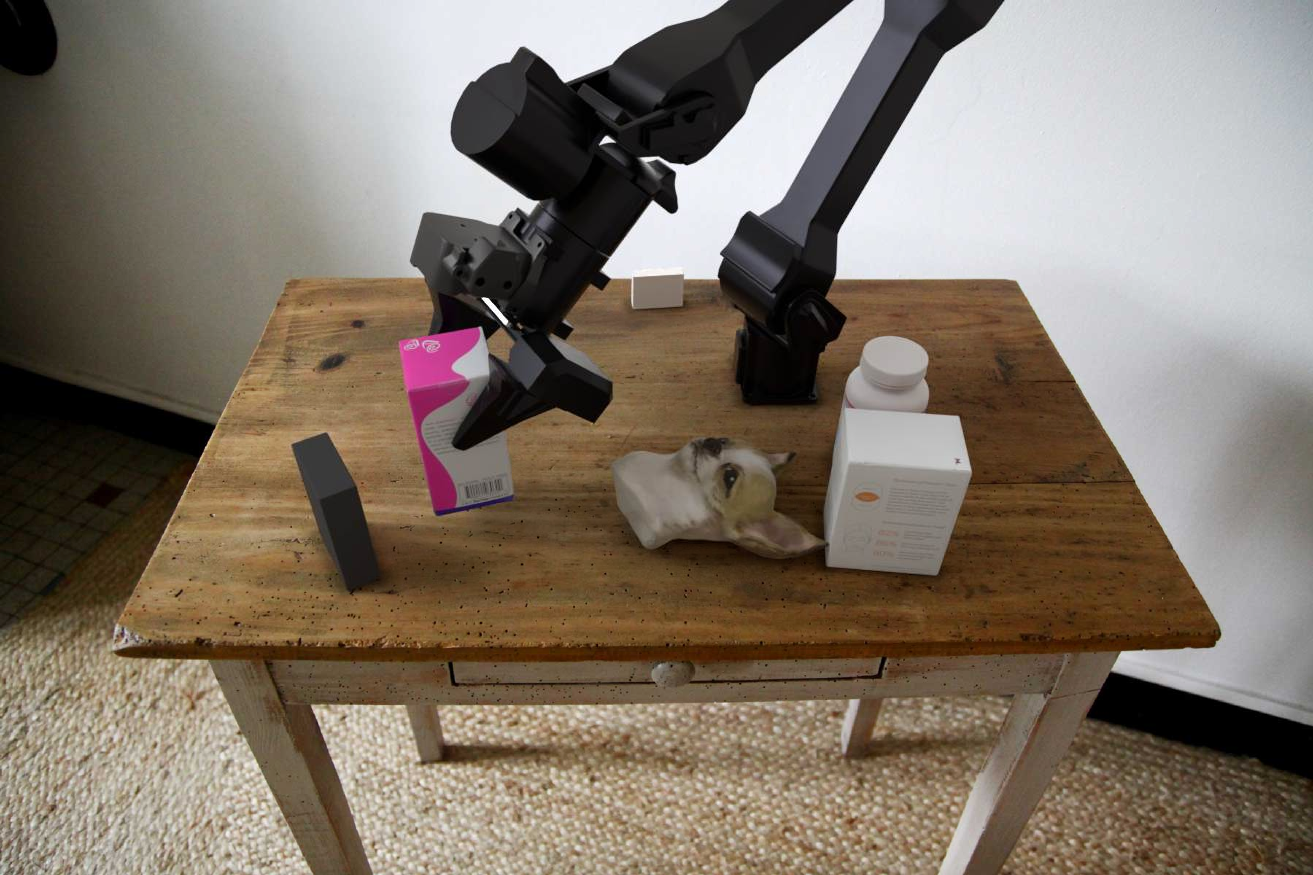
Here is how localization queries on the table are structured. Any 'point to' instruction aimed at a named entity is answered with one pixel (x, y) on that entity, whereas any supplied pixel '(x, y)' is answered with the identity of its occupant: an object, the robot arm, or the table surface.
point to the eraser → (657, 288)
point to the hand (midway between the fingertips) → (437, 418)
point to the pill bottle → (888, 378)
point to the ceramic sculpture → (710, 497)
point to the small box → (894, 490)
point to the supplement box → (454, 420)
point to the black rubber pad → (337, 510)
